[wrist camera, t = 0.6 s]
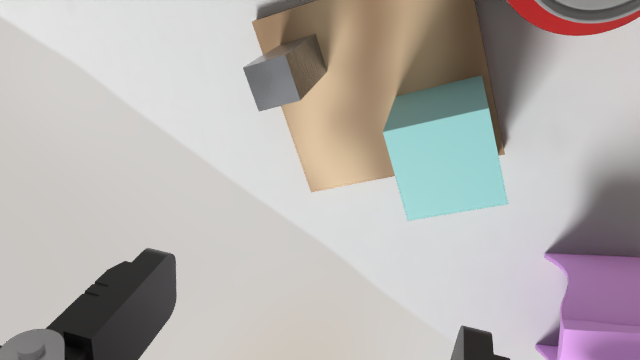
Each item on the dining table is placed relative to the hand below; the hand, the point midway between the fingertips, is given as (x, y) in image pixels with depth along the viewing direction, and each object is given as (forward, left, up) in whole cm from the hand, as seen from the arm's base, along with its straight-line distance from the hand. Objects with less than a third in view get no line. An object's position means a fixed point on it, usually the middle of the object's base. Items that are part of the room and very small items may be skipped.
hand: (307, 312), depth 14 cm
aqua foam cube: (-3, +2, -21) cm, 21 cm away
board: (0, -1, -21) cm, 21 cm away
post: (+4, -4, -21) cm, 21 cm away
